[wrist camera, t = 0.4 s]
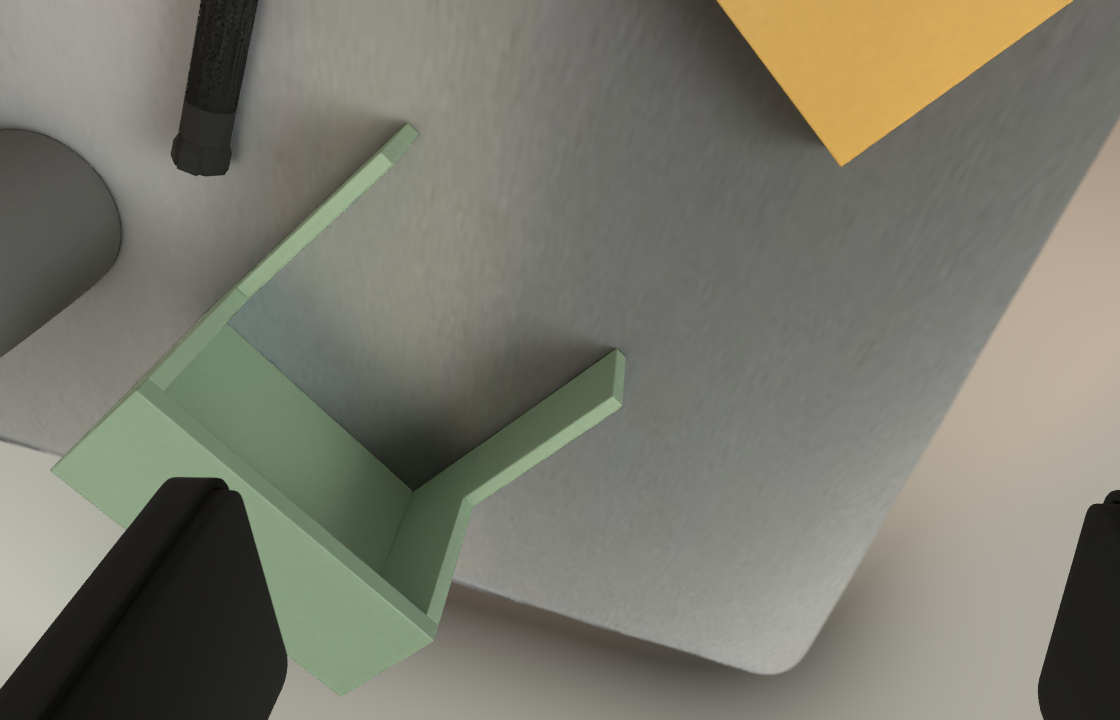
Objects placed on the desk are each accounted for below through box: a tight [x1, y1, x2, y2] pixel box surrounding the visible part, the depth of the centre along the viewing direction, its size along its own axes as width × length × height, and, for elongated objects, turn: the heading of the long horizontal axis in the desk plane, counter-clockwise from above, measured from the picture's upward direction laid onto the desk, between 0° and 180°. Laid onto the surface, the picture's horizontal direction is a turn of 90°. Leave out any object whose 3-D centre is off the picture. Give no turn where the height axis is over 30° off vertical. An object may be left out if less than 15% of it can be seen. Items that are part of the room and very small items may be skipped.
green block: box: [51, 123, 626, 696], centre depth 43 cm, size 17×17×14 cm
